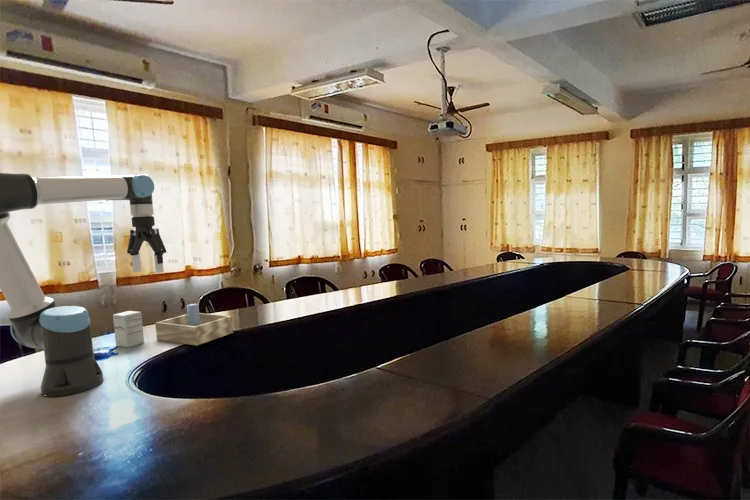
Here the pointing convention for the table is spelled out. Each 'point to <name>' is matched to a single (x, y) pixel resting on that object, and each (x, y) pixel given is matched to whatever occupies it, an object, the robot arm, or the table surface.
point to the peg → (193, 315)
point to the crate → (194, 329)
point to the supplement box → (128, 328)
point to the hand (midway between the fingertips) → (148, 272)
